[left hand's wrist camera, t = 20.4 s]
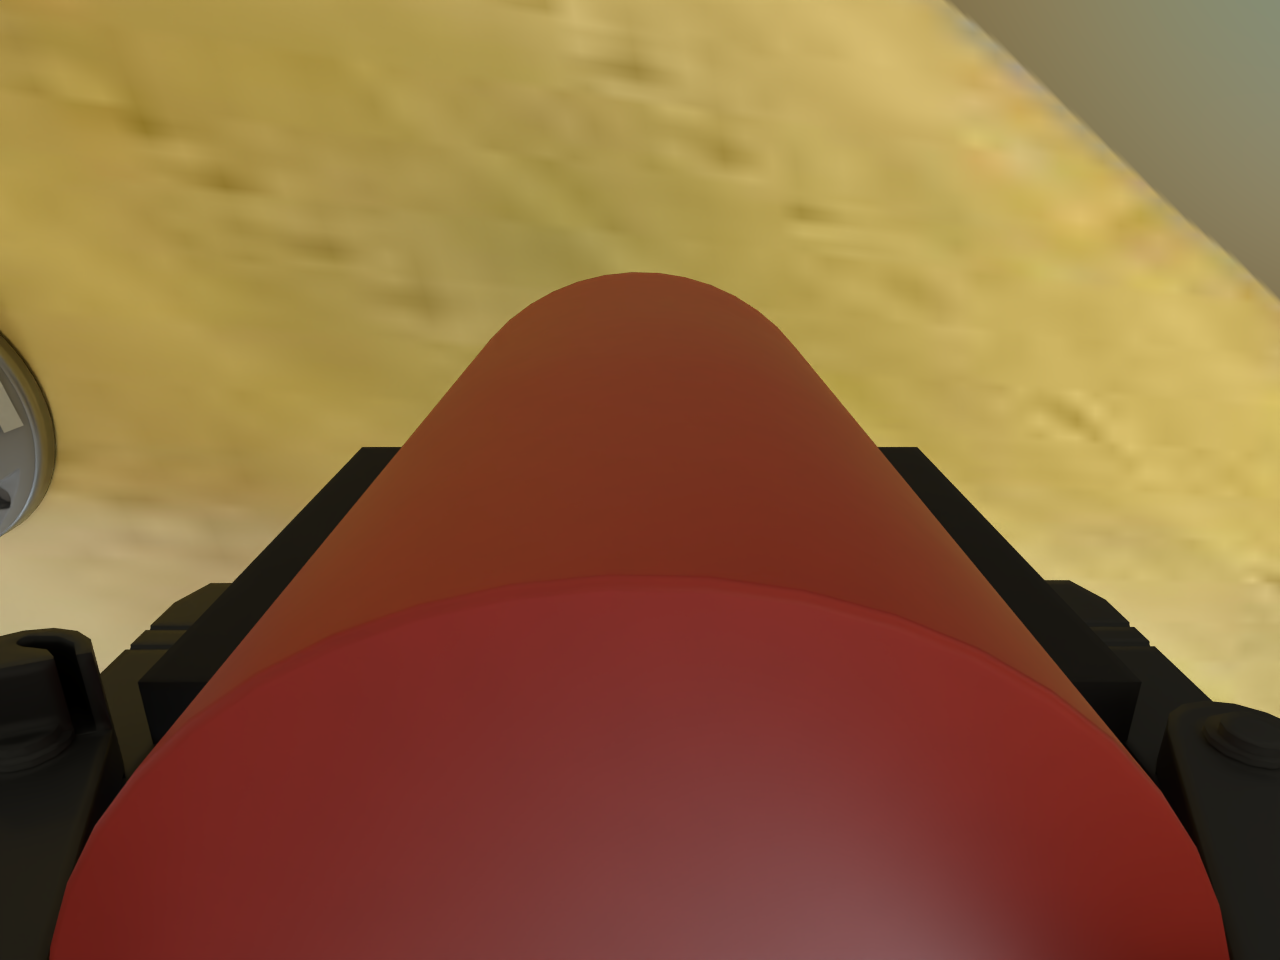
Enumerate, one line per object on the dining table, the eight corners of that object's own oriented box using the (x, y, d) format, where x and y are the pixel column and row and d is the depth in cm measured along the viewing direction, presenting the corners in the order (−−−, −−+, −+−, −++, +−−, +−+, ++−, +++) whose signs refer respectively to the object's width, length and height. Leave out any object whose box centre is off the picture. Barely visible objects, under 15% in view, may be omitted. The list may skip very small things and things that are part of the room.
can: (471, 637, 18) (196, 1420, 7) (425, 280, 15) (-152, 606, 4) (823, 625, 18) (1128, 1400, 7) (838, 263, 15) (1386, 551, 4)
